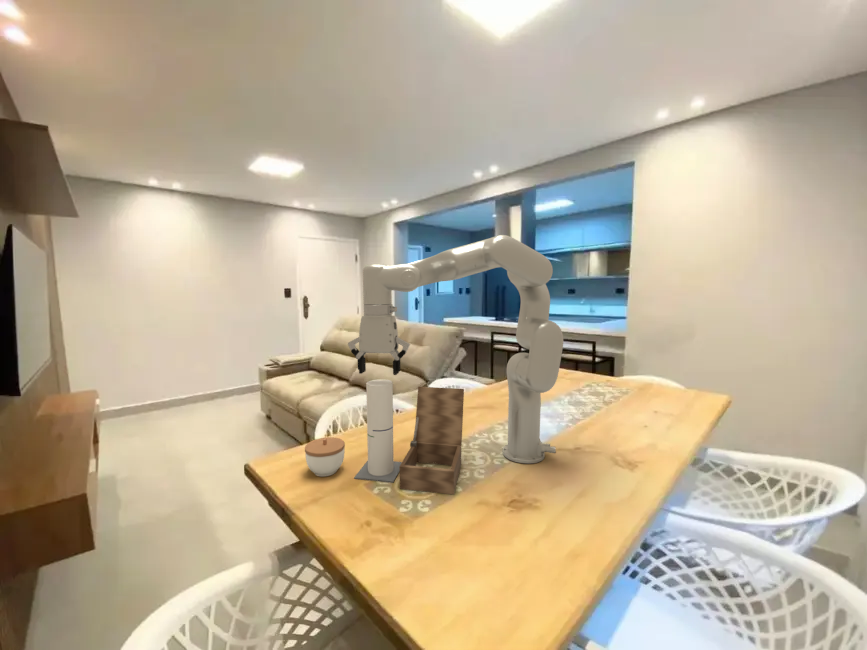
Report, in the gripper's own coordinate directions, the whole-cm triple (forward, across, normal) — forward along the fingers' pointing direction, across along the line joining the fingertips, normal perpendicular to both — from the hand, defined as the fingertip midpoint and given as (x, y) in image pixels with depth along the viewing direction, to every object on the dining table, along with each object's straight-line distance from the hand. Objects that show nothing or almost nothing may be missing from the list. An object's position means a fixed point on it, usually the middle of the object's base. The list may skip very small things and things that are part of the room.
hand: (379, 373), depth 102 cm
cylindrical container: (+28, 0, 0) cm, 28 cm away
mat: (+28, 0, 0) cm, 28 cm away
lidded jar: (+28, +15, +3) cm, 32 cm away
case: (+28, -15, -3) cm, 32 cm away
